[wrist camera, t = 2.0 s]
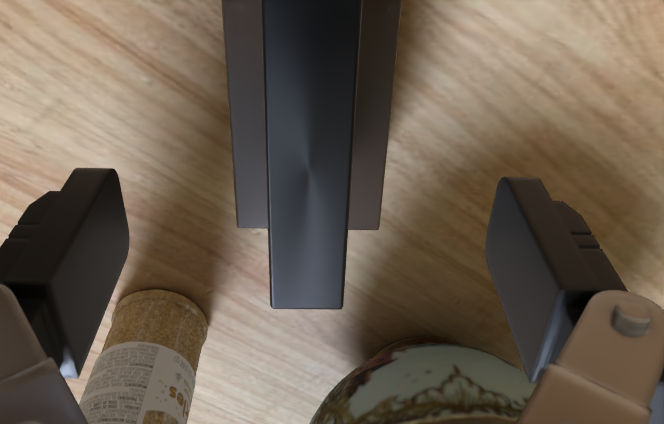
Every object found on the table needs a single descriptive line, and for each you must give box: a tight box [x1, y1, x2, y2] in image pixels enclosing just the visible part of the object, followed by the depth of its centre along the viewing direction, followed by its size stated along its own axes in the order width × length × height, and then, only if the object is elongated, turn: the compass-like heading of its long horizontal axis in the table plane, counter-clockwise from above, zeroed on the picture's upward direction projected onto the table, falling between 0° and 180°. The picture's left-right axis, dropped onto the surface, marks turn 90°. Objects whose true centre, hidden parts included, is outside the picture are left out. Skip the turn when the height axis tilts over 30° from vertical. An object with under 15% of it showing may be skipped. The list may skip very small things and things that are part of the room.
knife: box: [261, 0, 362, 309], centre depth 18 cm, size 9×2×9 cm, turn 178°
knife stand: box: [222, 0, 402, 230], centre depth 20 cm, size 11×5×4 cm, turn 178°
